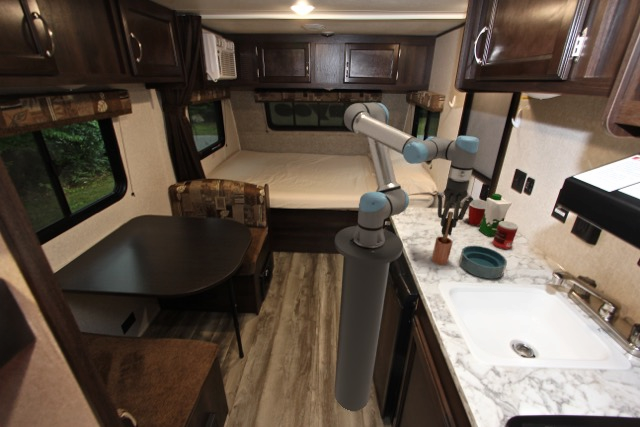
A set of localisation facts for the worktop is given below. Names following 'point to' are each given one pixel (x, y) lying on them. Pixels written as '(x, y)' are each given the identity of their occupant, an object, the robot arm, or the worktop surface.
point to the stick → (447, 227)
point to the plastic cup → (476, 211)
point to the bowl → (482, 261)
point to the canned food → (505, 234)
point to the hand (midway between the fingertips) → (445, 233)
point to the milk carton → (494, 214)
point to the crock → (441, 251)
